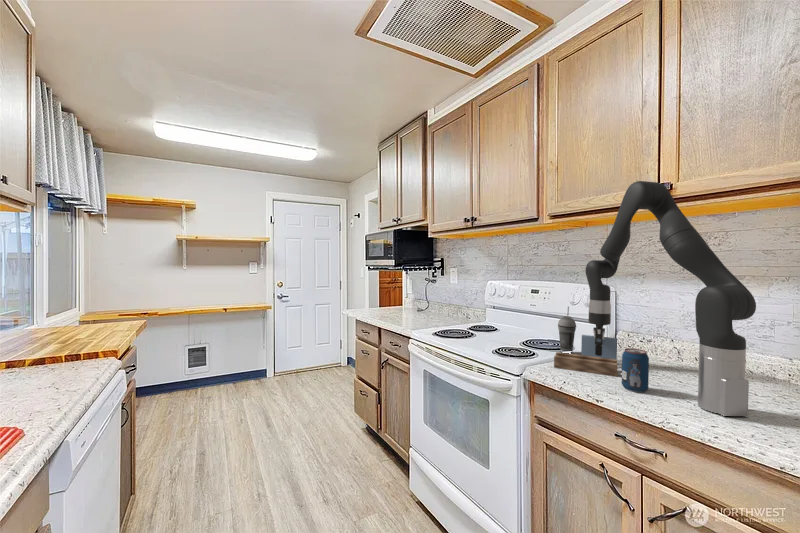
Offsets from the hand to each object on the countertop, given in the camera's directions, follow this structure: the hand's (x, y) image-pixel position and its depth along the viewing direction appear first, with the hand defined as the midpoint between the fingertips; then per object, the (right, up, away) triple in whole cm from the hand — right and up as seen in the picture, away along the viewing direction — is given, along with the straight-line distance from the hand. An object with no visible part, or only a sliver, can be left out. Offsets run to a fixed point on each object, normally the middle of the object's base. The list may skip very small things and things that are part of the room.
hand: (598, 352), depth 139 cm
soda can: (-5, -4, -29) cm, 30 cm away
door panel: (0, -4, 0) cm, 4 cm away
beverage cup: (-6, -4, +14) cm, 16 cm away
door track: (-10, -4, -9) cm, 14 cm away
